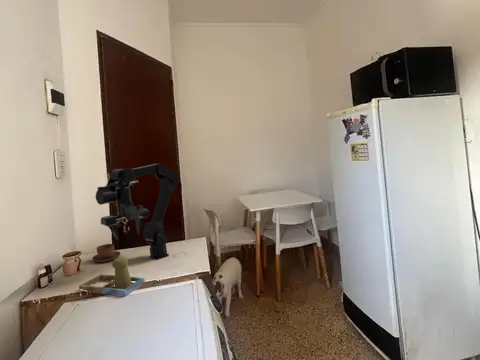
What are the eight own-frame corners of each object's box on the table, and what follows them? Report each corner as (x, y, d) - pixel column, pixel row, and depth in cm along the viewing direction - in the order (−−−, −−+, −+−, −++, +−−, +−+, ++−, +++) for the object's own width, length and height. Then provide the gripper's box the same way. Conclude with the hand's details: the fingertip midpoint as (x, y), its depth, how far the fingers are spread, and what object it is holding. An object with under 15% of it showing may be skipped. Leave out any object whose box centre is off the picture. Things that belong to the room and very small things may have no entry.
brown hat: (94, 258, 159) (92, 245, 158) (120, 253, 163) (119, 240, 162) (91, 266, 148) (89, 252, 147) (120, 260, 151) (118, 247, 151)
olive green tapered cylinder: (130, 290, 118) (126, 260, 117) (113, 292, 117) (108, 262, 116) (134, 283, 124) (130, 254, 123) (117, 285, 123) (113, 256, 122)
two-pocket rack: (79, 291, 121) (78, 285, 121) (101, 279, 131) (101, 274, 131) (125, 296, 114) (124, 290, 113) (145, 283, 123) (144, 277, 123)
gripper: (109, 205, 125) (115, 246, 127) (154, 196, 138) (158, 234, 140) (97, 203, 133) (102, 242, 135) (141, 195, 146) (145, 230, 148)
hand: (128, 237), depth 139 cm, fingers open, 9 cm apart
